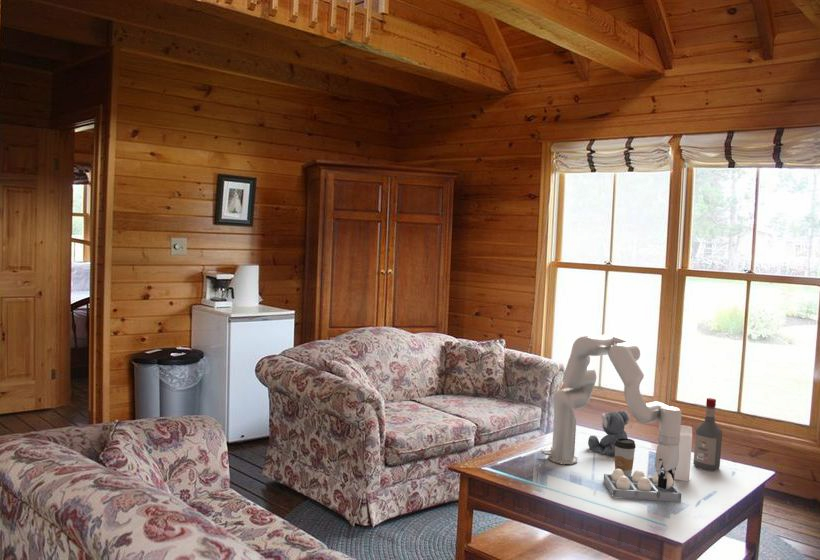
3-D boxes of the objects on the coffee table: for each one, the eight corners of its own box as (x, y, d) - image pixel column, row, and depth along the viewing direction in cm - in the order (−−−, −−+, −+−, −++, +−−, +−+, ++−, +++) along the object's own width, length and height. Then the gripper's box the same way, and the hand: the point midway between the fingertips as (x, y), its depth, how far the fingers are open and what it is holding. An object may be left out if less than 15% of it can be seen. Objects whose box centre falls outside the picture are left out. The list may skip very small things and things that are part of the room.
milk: (672, 474, 290) (676, 422, 288) (688, 477, 288) (691, 424, 286) (673, 479, 284) (676, 426, 282) (689, 481, 282) (692, 428, 281)
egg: (655, 486, 265) (656, 471, 264) (662, 484, 268) (663, 468, 268) (668, 491, 261) (669, 475, 260) (675, 488, 264) (676, 472, 264)
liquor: (712, 472, 294) (717, 402, 292) (691, 466, 301) (696, 398, 299) (721, 468, 301) (726, 400, 298) (700, 462, 307) (705, 395, 305)
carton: (613, 497, 261) (614, 479, 261) (603, 481, 278) (604, 464, 278) (681, 501, 260) (682, 483, 259) (667, 485, 277) (668, 468, 276)
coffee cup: (608, 475, 285) (611, 440, 284) (618, 471, 291) (620, 436, 290) (627, 481, 279) (630, 445, 278) (637, 476, 285) (639, 440, 284)
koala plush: (614, 445, 328) (617, 404, 326) (641, 457, 311) (644, 414, 310) (584, 448, 321) (587, 407, 319) (610, 461, 304) (613, 417, 303)
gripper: (670, 433, 272) (667, 478, 273) (648, 440, 260) (645, 488, 262) (689, 438, 266) (685, 484, 267) (667, 446, 255) (663, 494, 256)
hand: (665, 485), depth 264 cm, fingers closed on egg, 4 cm apart
